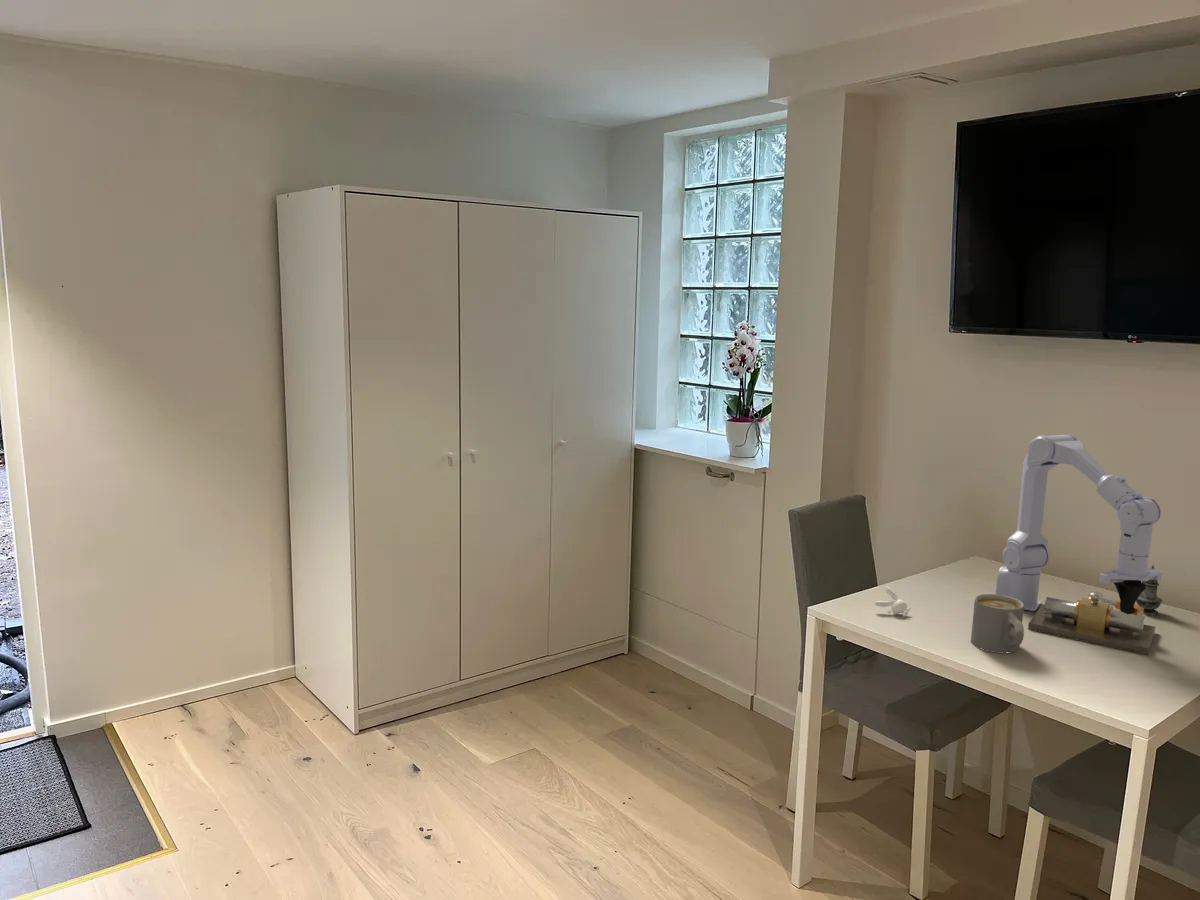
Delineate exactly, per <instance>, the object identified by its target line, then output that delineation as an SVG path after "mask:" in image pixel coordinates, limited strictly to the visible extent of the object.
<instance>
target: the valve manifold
mask: <svg viewBox="0 0 1200 900" xmlns="http://www.w3.org/2000/svg"><path fill="white" fill-rule="evenodd" d="M1145 617H1146V615H1138V616H1136V615H1133V614H1126V613H1123V612H1121V611H1120V610H1118V609H1114V606H1112V605H1110V604H1107V603H1104V602H1101V601H1097V600H1092V599H1089V598H1087V597H1082V598H1081V600H1079V599H1078V600H1076V601H1072V600H1071V601H1070V600H1065V599H1060V598H1055V597H1049V596H1046V598H1045V602H1044V603H1041V605H1040V606H1039V607H1038V610H1036V611H1035V614H1034V615H1033V617H1032V618H1031V619H1030V620H1029V622H1028V627H1027V630H1029V629H1031V630H1030V631H1034V630H1036V631H1035V632H1039V631H1040V633H1043V632H1045V633H1044V634H1048V633H1050V634H1049V635H1053V634H1055V635H1054V636H1057V635H1059V636H1058V637H1062V636H1063V638H1067V637H1068V638H1067V639H1071V640H1076V639H1077V641H1081V642H1086V643H1090V644H1094V643H1095V645H1098V646H1099V645H1100V646H1105V647H1108V648H1114V649H1118V650H1122V651H1123V650H1124V651H1128V652H1133V653H1136V654H1141V655H1145V656H1148V654H1149V651H1150V649H1151V646H1152V642H1153V639H1154V636H1155V633H1156V626H1153V625H1149V624H1145Z"/></svg>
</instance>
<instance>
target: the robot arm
mask: <svg viewBox="0 0 1200 900" xmlns="http://www.w3.org/2000/svg"><path fill="white" fill-rule="evenodd" d="M1027 447H1028V448H1027V453H1026V455H1025V458H1024V460H1023V465H1022V474H1021V485H1020V495H1019V496H1020V497H1019V504H1018V505H1019V506H1018V515H1017V516H1018V517H1017V526H1016V527H1017V528H1016V531H1015V532H1014V533H1013V534H1011V535H1010V536H1009V537H1008V538H1007V540H1006V546H1005V547H1004V549H1003V551H1002V561H1003V563H1004V566H1000V567H999V570H998V571H997V572H998V573H997V576H996V577H997V578H996V579H997V580H996V586H995V587H996V588H995V594H997V595H1004V596H1008V597H1012V598H1015V599H1017V600H1019V601H1021V602H1022V603H1023V604H1024V610H1023V611H1031V612H1037V611H1038V610H1037V609H1039V608H1040V606H1041V605H1042V601H1041V600H1038V597H1039V589H1040V583H1041V582H1040V581H1041V580H1040V579H1041V572H1044V571H1043V569H1044V568H1045V566H1047V565H1048V564H1049V561H1050V558H1051V557H1050V551H1049V547H1048V539H1047V538H1046V537H1045V535H1043V534H1042V531H1043V522H1044V521H1043V520H1044V511H1045V502H1046V501H1045V500H1046V492H1047V482H1048V472H1049V471H1050V470H1052V469H1054V468H1055V467H1056V466H1058V465H1059V464H1061V465H1063V464H1065V465H1071V466H1073V468H1075V469H1076V470H1077V471H1079V472H1080V473H1081V474H1082V475H1084V476H1085V477H1086V478H1087V479H1088V480H1090V481H1091V482H1092V483H1093V484H1095V486H1096V493H1097V494H1098V495H1099V496H1100V497H1101V498H1102V499H1103V500H1104V501H1106V503H1107V504H1108V505H1110V506H1111V507H1112V508H1113V509H1114V510H1115V511H1116V516H1117V519H1118V520H1119V523H1120V524H1119V525H1120V526H1119V529H1120V538H1119V539H1120V540H1119V548H1118V554H1117V562H1116V569H1113V570H1110V571H1106V572H1100V573H1099V582H1100V583H1101V584H1104V585H1110V584H1111V583H1113V584H1114V586H1115V588H1116V591H1117V593H1118V597H1119V601H1120V610H1119V611H1121V612H1123V613H1126V614H1132V612H1133V608H1134V605H1136V603H1137V602H1136V600H1137V599H1138V597H1139V596H1140V594H1141V593H1142V592H1143V591H1144V590H1145V589H1146V584H1144V583H1142V581H1149V580H1158V581H1162V573H1163V571H1160V570H1158V569H1156V568H1154V569H1150V568H1148V564H1149V558H1150V550H1151V542H1152V534H1153V527H1154V524H1156V523H1157V522H1158V521H1159V519H1160V518H1161V515H1162V511H1161V507H1160V505H1159V504H1158V502H1157V501H1156V500H1155V499H1154V498H1153V497H1145V496H1143V495H1142V493H1141V492H1140V491H1137V490H1136V489H1134V488H1133V487H1132V486H1131V485H1129V483H1127V482H1126V481H1127V479H1126V478H1125V477H1124V476H1123V475H1121V476H1120V475H1118V474H1109V473H1108V471H1106V470H1105V469H1104V467H1103V466H1101V464H1099V462H1097V460H1095V458H1093V456H1092V455H1091V454H1090V453H1089V452H1088V451H1087V450H1086V449H1085V446H1084V442H1082V441H1080V440H1079V439H1078V438H1077V437H1076V436H1075V435H1074V434H1071V433H1065V434H1057V435H1056V434H1055V435H1038V436H1036V437H1035V438H1033V439H1032V440H1030V441H1029V442H1028V446H1027ZM1155 569H1156V570H1155Z"/></svg>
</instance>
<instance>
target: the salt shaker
mask: <svg viewBox="0 0 1200 900" xmlns="http://www.w3.org/2000/svg"><path fill="white" fill-rule="evenodd" d="M1149 569H1155V570H1157V569H1156V568H1155V566H1154V565H1151V566H1150V568H1149ZM1158 582H1159V580H1149V581H1141V583H1144V584H1146V589H1145V590H1144V591H1143V592H1142V593H1141V594H1140V596H1139V597H1138V599H1137V600H1136V602H1135V603H1136V604H1137V606H1140V607H1143V608H1144V612H1143V614H1146V615H1145V616H1148V615H1158V610H1156V609H1158V608H1159V607H1160V606H1161V604H1162V603H1163V599H1162V598H1160V597H1159V596H1158V586H1160V584H1159V583H1158ZM1158 616H1159V615H1158Z"/></svg>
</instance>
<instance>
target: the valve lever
mask: <svg viewBox="0 0 1200 900" xmlns="http://www.w3.org/2000/svg"><path fill="white" fill-rule="evenodd" d="M1088 599H1092V600H1097V601H1101V602H1104V603H1107V604H1110V606H1111V607H1114V608H1115V610H1118V611H1120V600H1117V599H1115V598H1111V597H1110V596H1107V595H1104V594H1103V593H1101V592H1098V591H1094V590H1093V591H1089V592H1088ZM1143 612H1144V608H1143V607H1140V606H1139V605H1138V604H1137V605H1136V604H1134V608H1133V612H1132V614H1133V615H1136V616H1138V615H1143ZM1143 616H1144V615H1143Z"/></svg>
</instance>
